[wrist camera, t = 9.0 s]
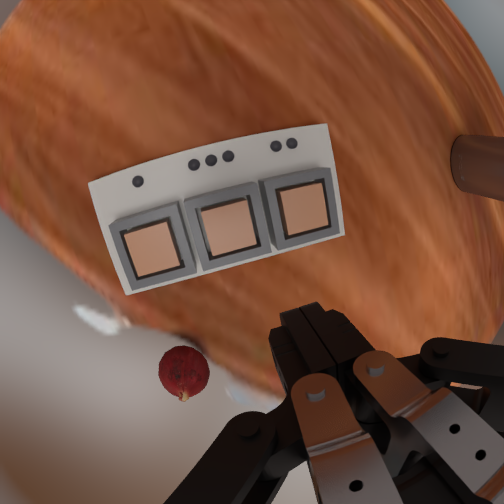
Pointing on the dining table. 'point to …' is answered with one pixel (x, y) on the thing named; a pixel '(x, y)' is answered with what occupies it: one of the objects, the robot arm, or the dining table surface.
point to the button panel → (217, 199)
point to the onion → (183, 372)
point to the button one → (153, 247)
